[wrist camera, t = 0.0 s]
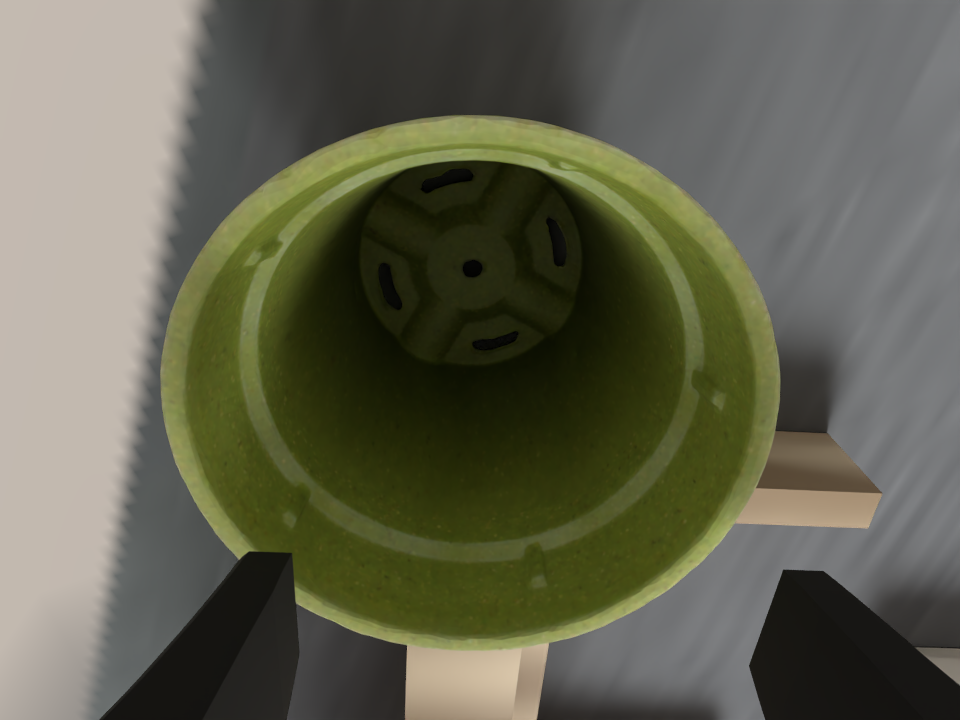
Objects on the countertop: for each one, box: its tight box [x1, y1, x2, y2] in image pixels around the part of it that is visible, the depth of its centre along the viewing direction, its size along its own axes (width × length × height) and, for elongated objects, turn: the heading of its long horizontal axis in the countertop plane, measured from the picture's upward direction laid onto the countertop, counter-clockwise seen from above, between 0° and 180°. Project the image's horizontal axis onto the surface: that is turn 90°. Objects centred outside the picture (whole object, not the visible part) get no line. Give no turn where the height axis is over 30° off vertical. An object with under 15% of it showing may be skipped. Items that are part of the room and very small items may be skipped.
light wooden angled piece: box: [405, 431, 882, 720], centre depth 22 cm, size 16×13×5 cm
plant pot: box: [160, 115, 781, 651], centre depth 14 cm, size 9×9×9 cm
